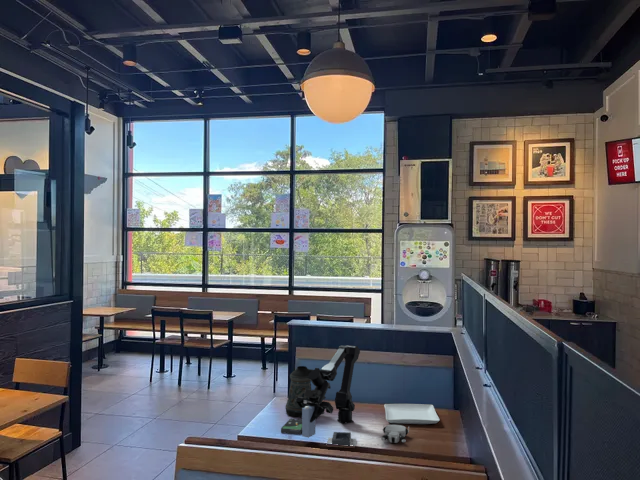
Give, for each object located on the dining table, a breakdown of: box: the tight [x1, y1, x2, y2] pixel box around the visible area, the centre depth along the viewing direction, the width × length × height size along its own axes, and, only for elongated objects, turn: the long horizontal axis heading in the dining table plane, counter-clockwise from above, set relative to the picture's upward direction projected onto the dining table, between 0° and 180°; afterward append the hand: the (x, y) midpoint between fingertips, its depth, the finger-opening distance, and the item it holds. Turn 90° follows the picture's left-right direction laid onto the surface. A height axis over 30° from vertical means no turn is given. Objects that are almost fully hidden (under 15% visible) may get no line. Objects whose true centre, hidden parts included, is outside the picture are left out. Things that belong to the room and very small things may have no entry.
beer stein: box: [284, 365, 313, 418], centre depth 261 cm, size 16×19×25 cm
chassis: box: [326, 431, 357, 446], centre depth 214 cm, size 10×13×4 cm
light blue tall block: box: [301, 406, 316, 438], centre depth 217 cm, size 6×4×13 cm, turn 146°
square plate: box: [383, 403, 440, 425], centre depth 250 cm, size 27×27×4 cm
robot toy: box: [380, 424, 410, 444], centre depth 219 cm, size 12×4×15 cm
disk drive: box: [280, 418, 302, 435], centre depth 235 cm, size 10×3×15 cm
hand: (307, 421), depth 216 cm, fingers closed on light blue tall block, 4 cm apart
